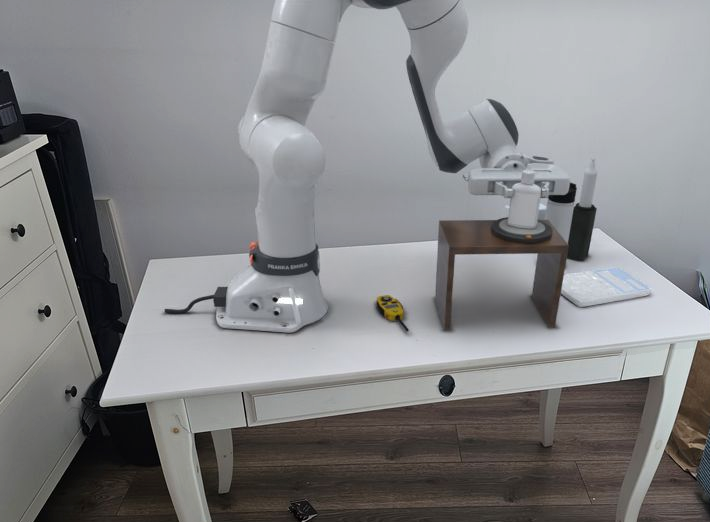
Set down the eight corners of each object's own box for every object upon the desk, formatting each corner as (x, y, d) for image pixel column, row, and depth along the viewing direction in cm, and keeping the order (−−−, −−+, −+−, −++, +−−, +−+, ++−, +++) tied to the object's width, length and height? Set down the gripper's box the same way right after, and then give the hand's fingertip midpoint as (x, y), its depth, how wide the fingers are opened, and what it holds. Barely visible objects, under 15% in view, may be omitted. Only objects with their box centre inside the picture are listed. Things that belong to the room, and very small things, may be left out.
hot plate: (498, 244, 117) (498, 237, 116) (485, 221, 127) (486, 215, 126) (559, 243, 118) (560, 236, 117) (542, 221, 128) (543, 215, 127)
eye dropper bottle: (525, 232, 119) (533, 169, 112) (503, 224, 122) (510, 162, 116) (540, 227, 121) (548, 165, 115) (518, 219, 125) (525, 159, 118)
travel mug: (570, 266, 153) (584, 186, 143) (550, 272, 150) (563, 191, 139) (552, 257, 157) (564, 179, 147) (533, 263, 154) (544, 183, 144)
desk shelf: (444, 330, 124) (449, 246, 115) (435, 298, 136) (439, 220, 126) (555, 327, 127) (569, 245, 117) (536, 296, 138) (548, 219, 129)
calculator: (545, 283, 145) (547, 275, 144) (616, 271, 151) (617, 264, 150) (578, 308, 134) (580, 300, 133) (652, 295, 141) (654, 287, 140)
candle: (582, 261, 156) (600, 161, 143) (563, 257, 158) (579, 158, 145) (589, 255, 159) (607, 157, 146) (570, 250, 162) (587, 153, 149)
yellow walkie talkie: (393, 292, 134) (419, 324, 122) (393, 300, 135) (419, 332, 123) (372, 295, 132) (396, 328, 120) (372, 303, 133) (396, 336, 122)
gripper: (462, 158, 126) (474, 177, 115) (559, 158, 128) (581, 177, 117) (460, 188, 130) (472, 210, 118) (554, 188, 132) (575, 210, 120)
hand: (527, 194), depth 117 cm, fingers closed on eye dropper bottle, 6 cm apart
